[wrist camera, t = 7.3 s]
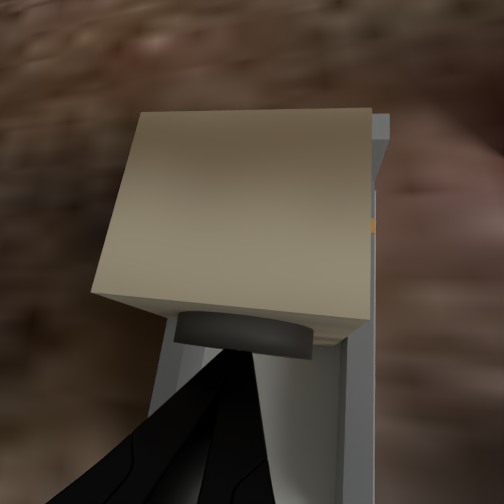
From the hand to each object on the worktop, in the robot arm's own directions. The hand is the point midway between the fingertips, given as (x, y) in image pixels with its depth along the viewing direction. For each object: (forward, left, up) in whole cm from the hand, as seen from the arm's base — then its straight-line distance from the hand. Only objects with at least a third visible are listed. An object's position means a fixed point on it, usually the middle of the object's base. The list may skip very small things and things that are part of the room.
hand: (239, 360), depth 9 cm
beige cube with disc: (+3, 0, -7) cm, 8 cm away
